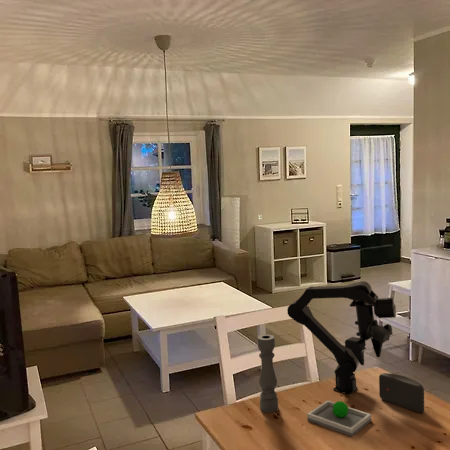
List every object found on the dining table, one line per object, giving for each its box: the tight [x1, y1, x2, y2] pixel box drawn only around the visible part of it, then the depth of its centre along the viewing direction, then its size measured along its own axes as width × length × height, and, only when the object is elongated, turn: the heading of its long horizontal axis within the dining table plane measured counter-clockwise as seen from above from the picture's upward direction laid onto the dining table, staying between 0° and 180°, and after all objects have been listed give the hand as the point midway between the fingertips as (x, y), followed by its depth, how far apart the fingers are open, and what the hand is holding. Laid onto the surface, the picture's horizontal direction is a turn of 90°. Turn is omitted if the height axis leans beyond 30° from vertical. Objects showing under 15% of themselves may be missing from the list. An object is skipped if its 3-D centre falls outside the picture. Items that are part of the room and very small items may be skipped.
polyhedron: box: [333, 400, 349, 418], centre depth 160 cm, size 5×5×5 cm
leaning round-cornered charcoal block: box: [378, 372, 425, 414], centre depth 167 cm, size 16×5×9 cm, turn 39°
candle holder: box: [257, 334, 279, 413], centre depth 169 cm, size 6×6×25 cm
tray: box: [306, 400, 372, 437], centre depth 159 cm, size 16×12×2 cm
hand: (370, 361), depth 176 cm, fingers open, 9 cm apart
